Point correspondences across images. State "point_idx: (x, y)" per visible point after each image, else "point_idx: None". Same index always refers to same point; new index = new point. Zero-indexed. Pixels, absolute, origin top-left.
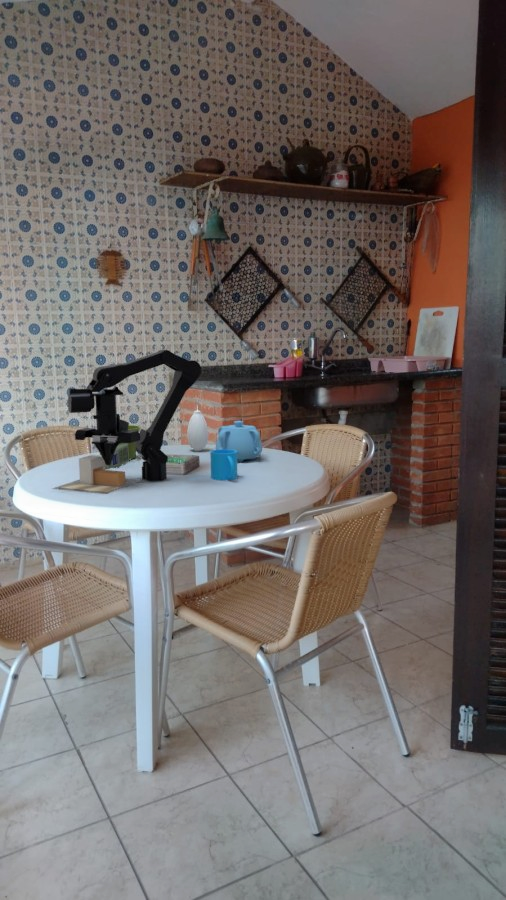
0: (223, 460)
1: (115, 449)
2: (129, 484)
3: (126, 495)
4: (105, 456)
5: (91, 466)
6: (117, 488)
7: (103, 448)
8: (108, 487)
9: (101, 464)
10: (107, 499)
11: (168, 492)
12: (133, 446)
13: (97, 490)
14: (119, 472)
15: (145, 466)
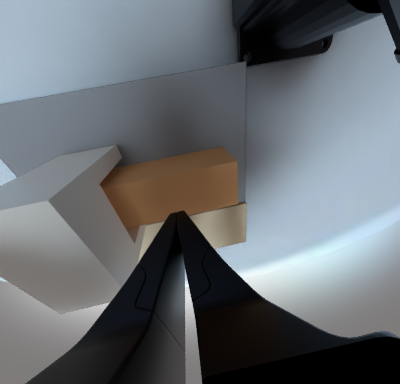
0: None
1: (232, 271)
2: (244, 151)
3: (272, 205)
4: (184, 273)
5: (135, 260)
6: (246, 209)
7: (179, 344)
8: (221, 217)
9: (101, 201)
10: (252, 240)
11: (367, 130)
12: None
13: (218, 244)
14: (226, 184)
15: (316, 11)
